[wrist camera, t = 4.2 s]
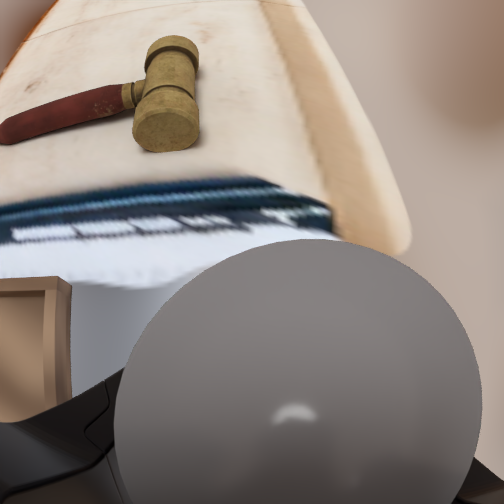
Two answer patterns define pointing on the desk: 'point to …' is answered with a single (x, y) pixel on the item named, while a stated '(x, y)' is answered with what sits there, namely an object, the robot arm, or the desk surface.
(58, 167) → the desk surface
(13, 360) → the walnut tray
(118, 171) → the desk surface
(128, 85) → the gavel
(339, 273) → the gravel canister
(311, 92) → the desk surface
